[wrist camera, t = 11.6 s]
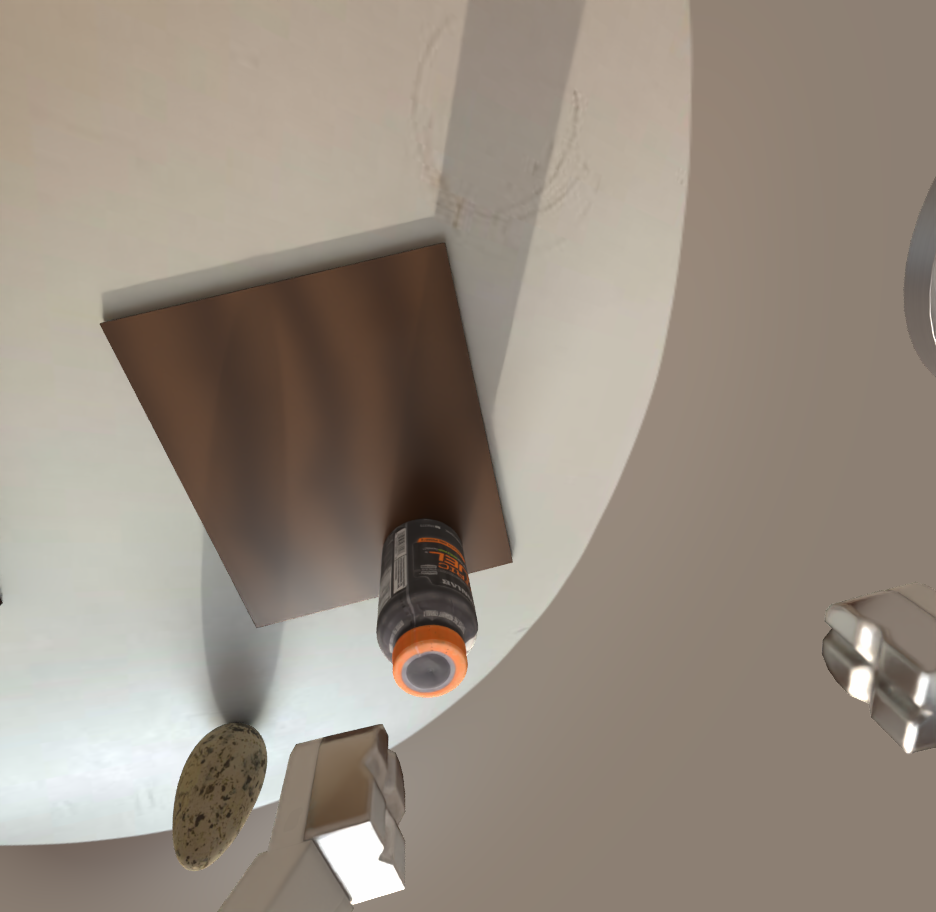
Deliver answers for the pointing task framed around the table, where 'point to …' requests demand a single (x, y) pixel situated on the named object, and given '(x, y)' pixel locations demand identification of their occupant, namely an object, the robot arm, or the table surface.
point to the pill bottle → (425, 608)
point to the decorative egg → (217, 793)
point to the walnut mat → (320, 425)
